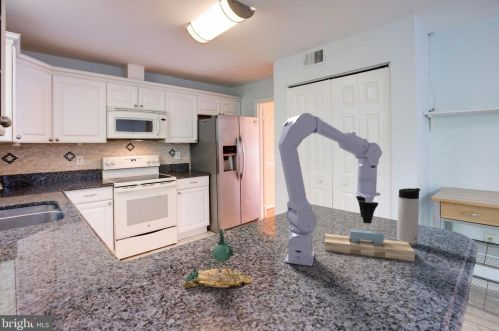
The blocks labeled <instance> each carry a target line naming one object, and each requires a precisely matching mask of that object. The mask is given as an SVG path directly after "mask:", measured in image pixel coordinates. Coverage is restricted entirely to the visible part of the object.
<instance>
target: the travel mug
mask: <svg viewBox="0 0 499 331" xmlns="http://www.w3.org/2000/svg"><path fill="white" fill-rule="evenodd" d="M420 191H421V188H418V187H415V188H411V187H409V188H400V189H398V198H397V200H398V201H397V222H396V225H397V226H396V241H400V242H408V244H409V245H410V246H411V247H416V246H418V238H419V236H418V235H419V233H418V232H419V216H420V215H419V211H420Z"/></svg>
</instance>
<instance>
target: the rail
mask: <svg viewBox="0 0 499 331" xmlns="http://www.w3.org/2000/svg"><path fill="white" fill-rule="evenodd" d="M324 251H328V252H336V253H342V254H353V255H359V256H361V255H362V256H367V257H374V258H375V257H377V258H384V259H385V258H386V259H392V260H402V261H410V262H415V259H416V258H415V257H416V251H415V250H414V249H413V246H410V245H409V244H408V242H400V241H397V240H390V239H389V240H388V239H384V242H382V244H381V245H374V241H369V240H359V239H358V243H354V242H352V239H350V235H339V234H330V233H325V236H324Z"/></svg>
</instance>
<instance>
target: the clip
mask: <svg viewBox="0 0 499 331" xmlns="http://www.w3.org/2000/svg"><path fill="white" fill-rule="evenodd" d="M349 236H350V239H352V242H354V243H358V239H359V240H369V241H374V245H381V244H382V242H384V240H385V234H384V232H382V231H381V232H380V231H374V230H373V231H371V230H359V229H351V228H350V229H349Z"/></svg>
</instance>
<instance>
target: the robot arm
mask: <svg viewBox="0 0 499 331" xmlns="http://www.w3.org/2000/svg"><path fill="white" fill-rule="evenodd" d="M312 134H318V135H320V136H323V137H324V138H327V139H330V140H331V141H334V142H336V143H337V144H338V147H339V148H340V149H342V150H344V151H346V152H347V153H350V154H352V155H353V156H354V157H355V158H356V159H357V186H356V189H357V190H356V195H355V198H356V200H357V202H358V206H359V214H360V217H361V218H362V222H363V224H367V225H368V224H372V221H373V217H374V214H375V211H376V209H377V208H378V206H379V203H378V202H376V201H374V200H375V197H378V196H381V192H377V186H378V185H377V183H378V182H377V181H378V180H377V179H378V165H379V162H380V159H381V157H382V155H383V150H382V149H381V147H380V145H379V144H378V143H377V142H369V141H368V139H367V138H366V137H365V138H364V137H361V136H359V135H357V133H356V132H355V131H345V132H343V131H341V130H340V129H338V128H336V127H334V126H332V125H331V124H329V123H328V122H326V121H324V120H323V119H321V118H320V117H318V116H316V115H313V114H311V113H309V112H303V113H301V114H299V115H295V116H292V117H289V118H288V119H287V120H286V121H285V122H284V123H283V125H282V131H281V134H280V137H279V141H278V150H279V155H280V161H281V166H282V170H283V176H284V180H285V187H286V190H287V195H288V201H287V203H286V206H287V210H286V219H287V221H288V222H289V226H288V244H287V246H288V248H287V250H288V252H287V255H286V257H285V259H284V262H285V263H289V264H294V265H301V266H308V267H312V266H313V262H314V257H315V251H313V236H314V233H313V232H314V230H315V228H316V227H317V224H318V217H317V216H316V215H315V213H314V212H313V207H312V205H311V203H310V202H309V200H308V198H307V193H306V187H305V182H304V178H303V173H302V172H303V171H302V168H301V161H300V156H299V152H298V151H299V150H298V147H300V145H301V143H302V142H303V141H304V139H306V138H307V137H309V136H311V135H312Z"/></svg>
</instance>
